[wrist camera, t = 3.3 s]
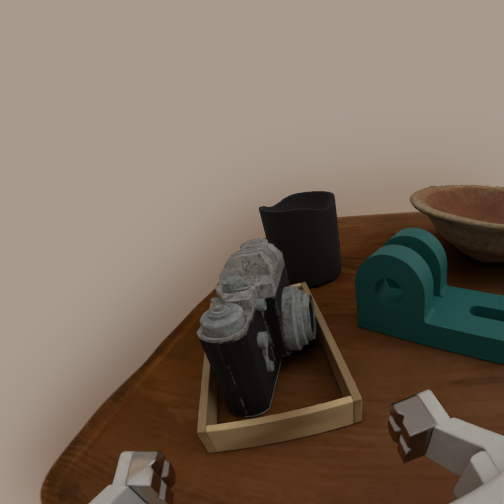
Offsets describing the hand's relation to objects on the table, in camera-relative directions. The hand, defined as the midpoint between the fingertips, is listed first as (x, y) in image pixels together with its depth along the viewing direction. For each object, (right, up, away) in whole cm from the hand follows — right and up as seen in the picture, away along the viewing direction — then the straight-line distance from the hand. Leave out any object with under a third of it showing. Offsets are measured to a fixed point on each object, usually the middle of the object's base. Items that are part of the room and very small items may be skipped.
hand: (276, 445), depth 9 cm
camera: (+2, -3, +18) cm, 19 cm away
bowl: (+32, +6, +25) cm, 41 cm away
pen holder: (+7, +3, +33) cm, 34 cm away
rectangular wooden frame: (+1, -3, +18) cm, 18 cm away
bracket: (+18, 0, +15) cm, 23 cm away
